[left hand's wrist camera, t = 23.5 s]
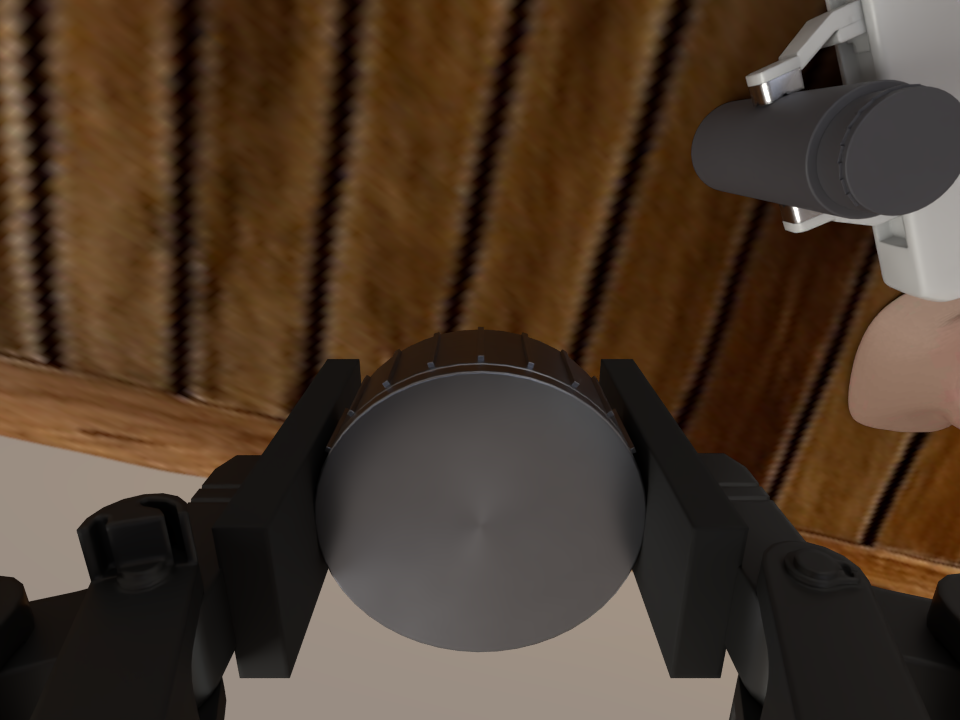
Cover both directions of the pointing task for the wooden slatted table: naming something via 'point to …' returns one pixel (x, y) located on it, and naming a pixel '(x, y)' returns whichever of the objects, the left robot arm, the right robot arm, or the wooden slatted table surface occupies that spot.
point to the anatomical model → (909, 367)
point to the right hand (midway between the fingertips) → (770, 157)
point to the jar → (836, 148)
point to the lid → (480, 494)
